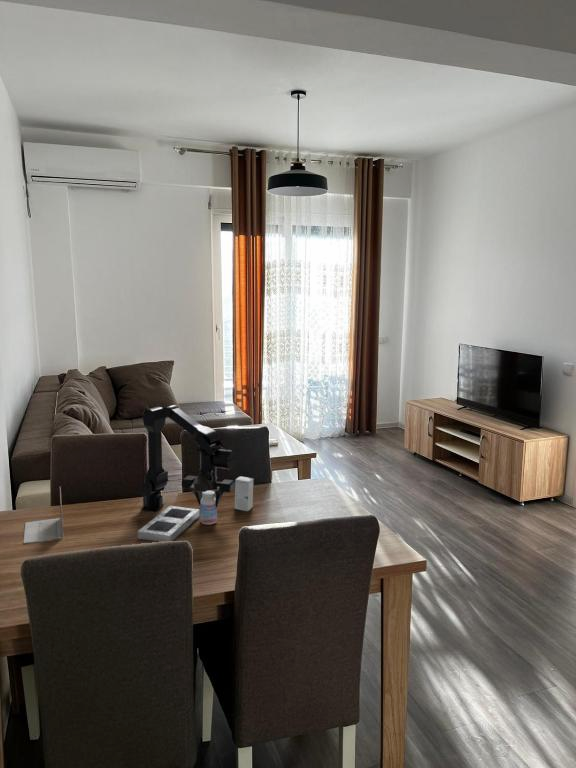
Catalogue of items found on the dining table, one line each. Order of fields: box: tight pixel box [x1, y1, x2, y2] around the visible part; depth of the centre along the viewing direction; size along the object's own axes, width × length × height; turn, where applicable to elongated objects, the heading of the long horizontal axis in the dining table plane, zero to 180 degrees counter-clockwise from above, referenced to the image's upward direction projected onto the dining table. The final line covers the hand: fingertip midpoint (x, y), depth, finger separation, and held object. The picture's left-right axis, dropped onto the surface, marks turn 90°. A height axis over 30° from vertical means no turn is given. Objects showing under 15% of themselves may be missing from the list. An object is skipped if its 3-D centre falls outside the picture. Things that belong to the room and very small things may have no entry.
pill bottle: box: [199, 490, 218, 526], centre depth 212 cm, size 6×6×11 cm
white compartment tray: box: [137, 505, 200, 543], centre depth 207 cm, size 12×24×3 cm, turn 165°
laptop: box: [22, 486, 64, 545], centre depth 202 cm, size 18×12×13 cm
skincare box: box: [234, 476, 254, 512], centre depth 225 cm, size 6×4×12 cm
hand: (208, 506), depth 212 cm, fingers closed on pill bottle, 6 cm apart
